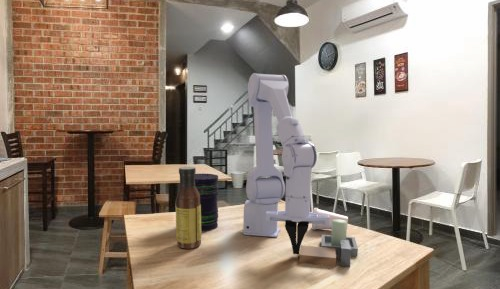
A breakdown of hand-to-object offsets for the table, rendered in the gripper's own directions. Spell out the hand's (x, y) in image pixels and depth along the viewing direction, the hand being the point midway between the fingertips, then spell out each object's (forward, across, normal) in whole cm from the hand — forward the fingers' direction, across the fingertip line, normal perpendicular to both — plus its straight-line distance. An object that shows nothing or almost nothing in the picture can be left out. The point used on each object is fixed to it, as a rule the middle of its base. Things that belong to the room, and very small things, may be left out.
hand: (296, 252), depth 85 cm
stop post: (+1, +11, 0) cm, 11 cm away
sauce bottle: (+1, -27, +1) cm, 27 cm away
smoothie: (-2, +13, +21) cm, 25 cm away
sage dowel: (+1, +10, +8) cm, 13 cm away
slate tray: (+1, +10, +8) cm, 13 cm away
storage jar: (+1, -29, +17) cm, 34 cm away
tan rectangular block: (+2, +5, 0) cm, 5 cm away
